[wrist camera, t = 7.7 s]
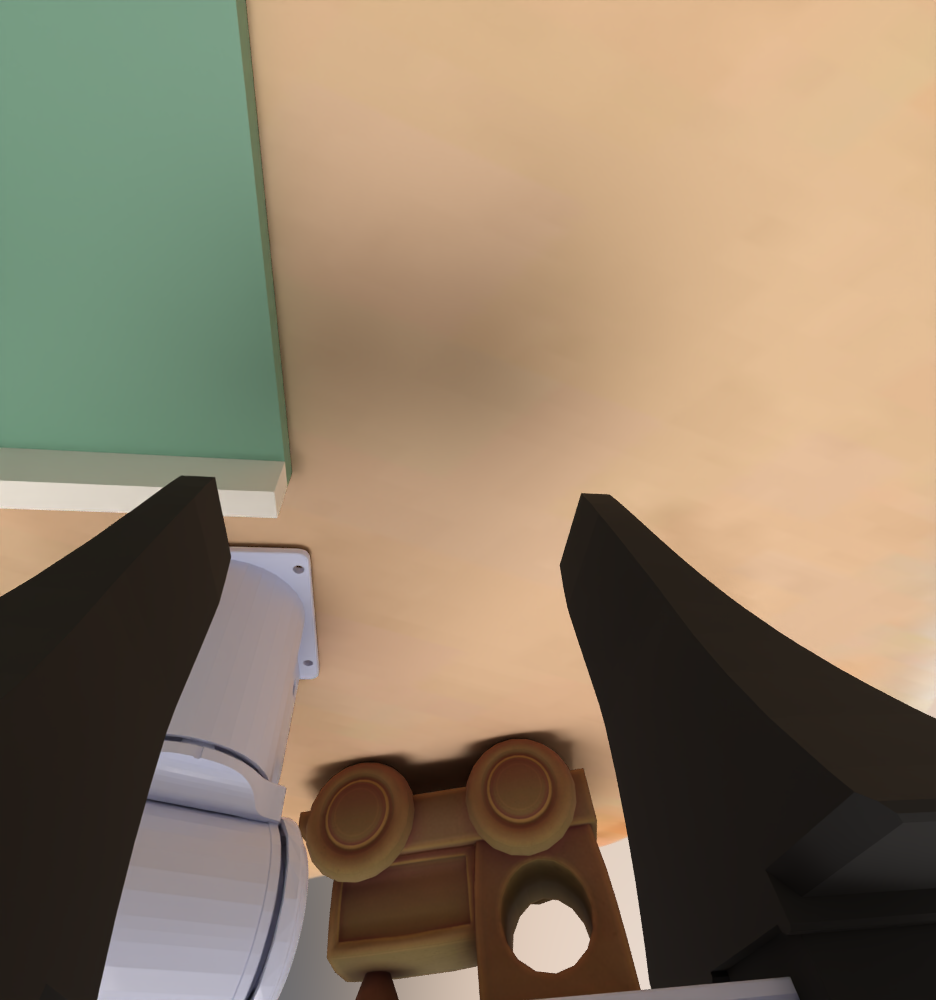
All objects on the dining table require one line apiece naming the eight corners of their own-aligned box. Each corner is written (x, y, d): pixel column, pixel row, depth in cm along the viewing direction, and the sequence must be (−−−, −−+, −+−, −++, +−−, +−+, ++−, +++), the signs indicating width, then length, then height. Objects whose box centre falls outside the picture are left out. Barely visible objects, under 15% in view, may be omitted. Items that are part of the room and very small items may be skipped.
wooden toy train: (587, 717, 36) (691, 1081, 22) (588, 793, 43) (668, 1105, 29) (296, 763, 36) (230, 1148, 23) (344, 831, 43) (314, 1156, 30)
